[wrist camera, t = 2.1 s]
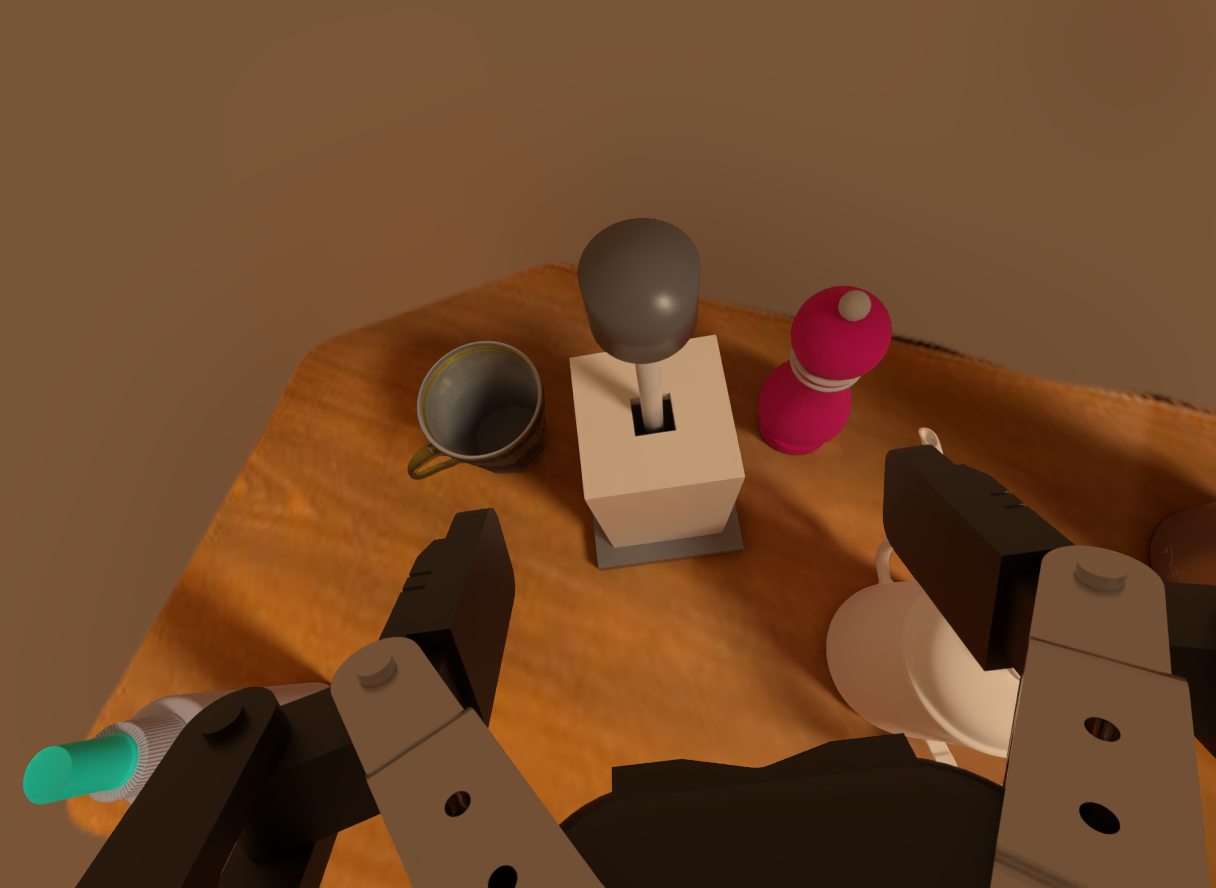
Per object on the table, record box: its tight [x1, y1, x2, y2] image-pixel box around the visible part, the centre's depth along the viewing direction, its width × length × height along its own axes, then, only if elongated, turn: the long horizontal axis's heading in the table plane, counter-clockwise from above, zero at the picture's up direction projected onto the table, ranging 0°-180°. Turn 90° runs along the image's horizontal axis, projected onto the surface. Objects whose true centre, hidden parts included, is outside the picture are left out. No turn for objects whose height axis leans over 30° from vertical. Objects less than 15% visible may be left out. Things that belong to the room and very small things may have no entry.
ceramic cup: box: [408, 341, 546, 480], centre depth 50 cm, size 13×10×10 cm
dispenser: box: [569, 335, 745, 571], centre depth 43 cm, size 12×13×18 cm
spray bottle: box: [23, 682, 331, 804], centre depth 39 cm, size 6×6×22 cm
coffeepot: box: [826, 428, 1020, 767], centre depth 37 cm, size 11×25×19 cm, turn 9°
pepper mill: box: [758, 286, 892, 455], centre depth 43 cm, size 7×7×20 cm
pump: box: [578, 218, 700, 435], centre depth 31 cm, size 4×4×21 cm
